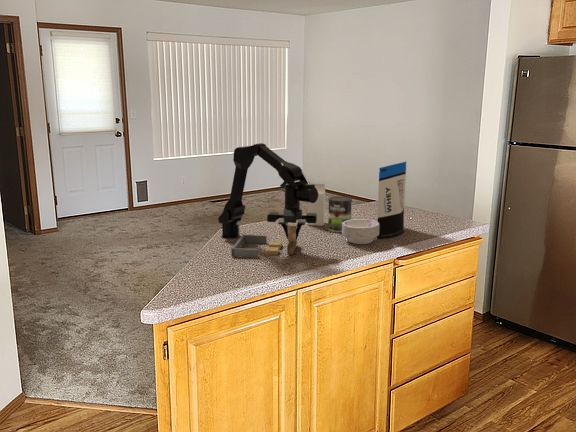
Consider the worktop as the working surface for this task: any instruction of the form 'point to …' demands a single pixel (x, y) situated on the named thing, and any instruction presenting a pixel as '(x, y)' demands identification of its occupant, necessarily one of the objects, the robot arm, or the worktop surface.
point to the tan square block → (275, 244)
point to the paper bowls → (360, 230)
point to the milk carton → (318, 205)
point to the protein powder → (391, 200)
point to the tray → (242, 252)
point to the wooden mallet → (291, 239)
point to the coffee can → (338, 212)
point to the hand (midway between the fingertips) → (292, 239)
